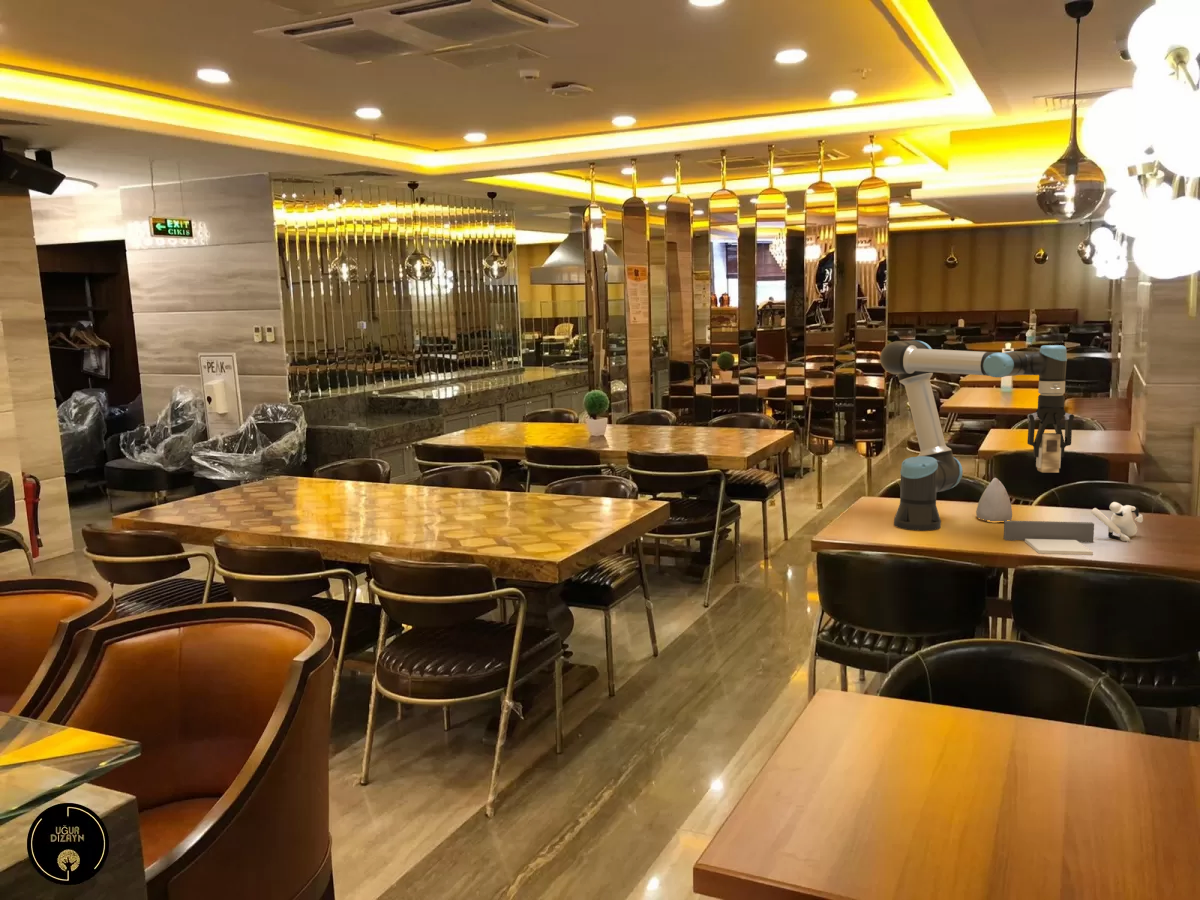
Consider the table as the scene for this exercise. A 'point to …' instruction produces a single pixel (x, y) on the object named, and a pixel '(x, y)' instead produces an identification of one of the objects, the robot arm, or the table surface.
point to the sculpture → (994, 503)
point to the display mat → (1058, 546)
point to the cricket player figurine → (1120, 520)
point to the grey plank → (1049, 530)
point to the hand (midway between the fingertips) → (1048, 467)
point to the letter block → (1050, 453)
